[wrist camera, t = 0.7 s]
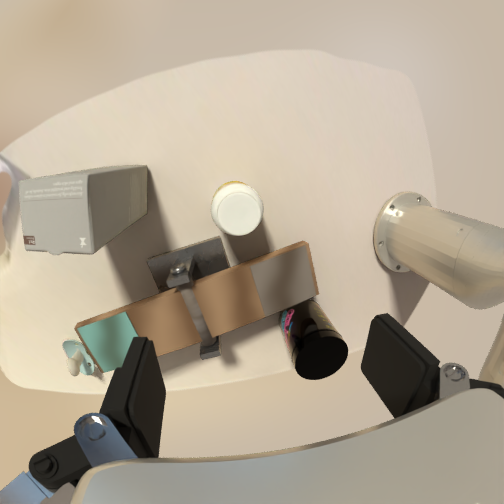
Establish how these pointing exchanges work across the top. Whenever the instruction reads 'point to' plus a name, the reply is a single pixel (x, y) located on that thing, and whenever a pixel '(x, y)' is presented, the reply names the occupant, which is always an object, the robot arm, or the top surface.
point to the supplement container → (312, 340)
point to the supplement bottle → (236, 208)
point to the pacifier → (77, 358)
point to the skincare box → (81, 208)
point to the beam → (203, 307)
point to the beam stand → (190, 272)
